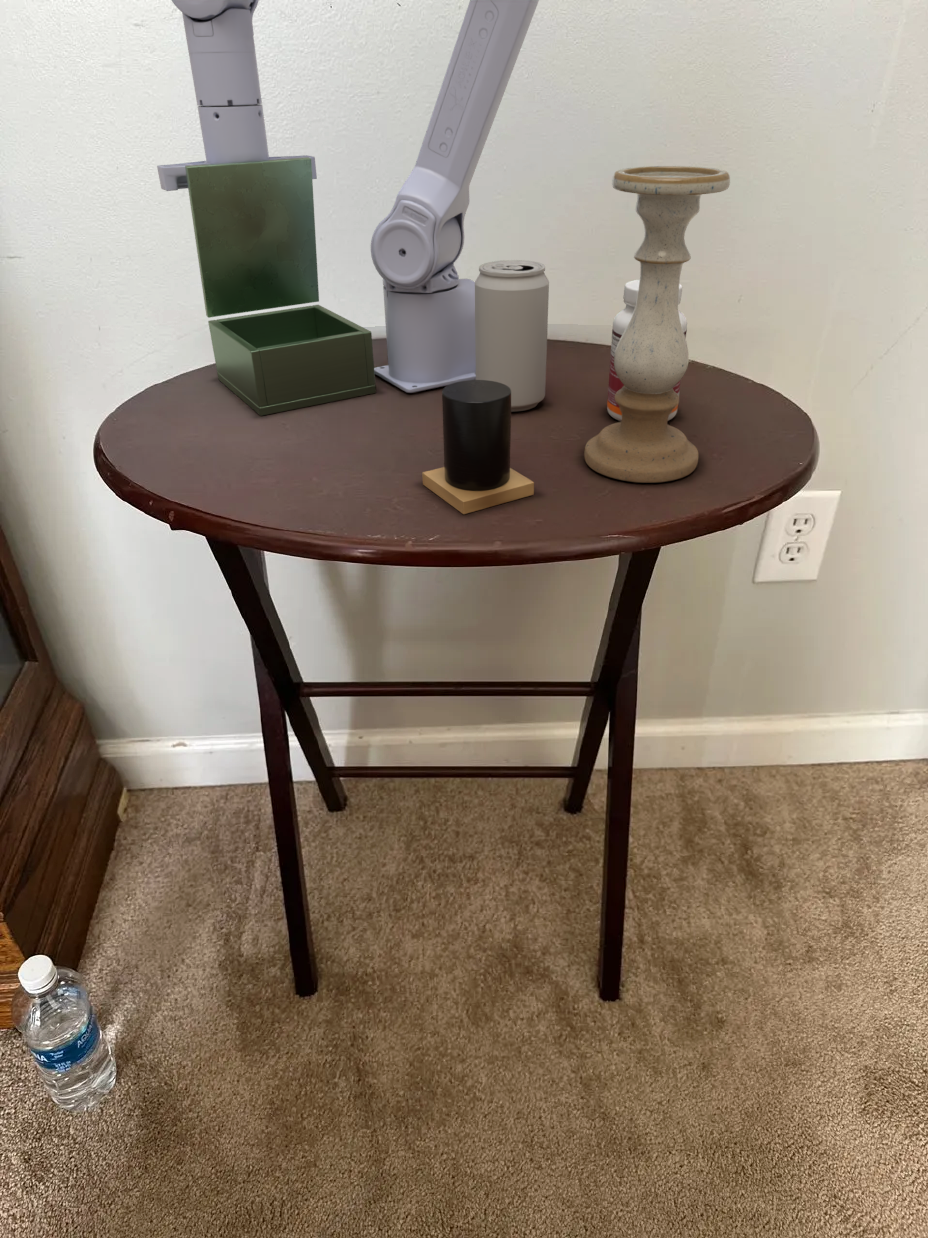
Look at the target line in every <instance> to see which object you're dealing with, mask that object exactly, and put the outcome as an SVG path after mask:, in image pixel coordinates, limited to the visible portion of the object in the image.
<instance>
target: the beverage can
mask: <svg viewBox="0 0 928 1238" xmlns="http://www.w3.org/2000/svg"><path fill="white" fill-rule="evenodd" d="M545 271H546V264H544V263H541V262H538V261H533V260H525V259H503V260H495V261H488V262H484V263H481V264H480V265H479V266H478V272H479V274H478V276H477V277H476V279H475V281H474V282H475V355H476V380H488V381H494V382H499V383H502V384H505V385H507V386H508V387H509V388H510V389H511V413H513V412H523V411H528V410H531V409H534V408H535V407H536V406H538V404H539V403H540V402H542V401H543V400H544V398H545V396H546V380H547V355H548V354H547V353H548V351H547V349H548V328H549V327H548V325H549V323H548V322H549V298H550V297H549V296H550V295H549V294H550V281H549V278H548V277H547V275H546V274H545Z"/></svg>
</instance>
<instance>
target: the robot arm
mask: <svg viewBox="0 0 928 1238" xmlns="http://www.w3.org/2000/svg"><path fill="white" fill-rule="evenodd" d="M259 1H260V0H171V2H172V4H173V5H174V7H176V9H177V10H179V11H180V12H181V15H182V20H183V26H184V32H185V38H186V45H187V50H188V52H187V53H188V56H189V63H190V69H191V76H192V81H193V88H194V93H195V99H196V106H197V112H198V117H199V124H200V125H199V126H200V130H201V136H202V142H203V150H204V154H205V160H199V161H191V162H182V163H172V164H171V163H170V164H159V165H156V168H157V173H158V179H159V184H160V189H161V190H163V191H166V192H173V191H178V190H183V189H188V184H187V177H186V170H185V166H189V165H204V164H219V163H233V162H248V161H262V160H277V159H292V158H306V157H309V158H311V163H312V180H317V179H318V176H317V166H316V157H315V156H312V155H307V154H305V155H303V154H302V155H286V156H285V155H284V156H270V155H269V147H268V146H269V145H268V139H267V130H266V122H265V115H264V106H263V102H262V101H263V100H262V92H261V85H260V78H259V69H258V68H259V67H258V62H257V53H256V46H255V37H254V35H255V34H254V25H253V18H254V17H253V16H254V13H255V11H256V9H257V7H258V4H259ZM539 1H540V0H469V2H468V4H467V5H468V6H467V8H466V12H465V14H464V16H463V20H462V23H461V26H460V30H459V32H458V35H457V38H456V41H455V44H454V47H453V51H452V53H451V56H450V59H449V63H448V65H447V68H446V71H445V74H444V78H443V80H442V83H441V86H440V89H439V92H438V95H437V98H436V101H435V105H434V107H433V111H432V114H431V115H430V119H429V121H428V125H427V128H426V131H425V134H424V137H423V140H422V143H421V146H420V149H419V152H418V155H417V157H416V158H417V159H416V161H415V164H414V167H413V168H412V170H411V171H410V173H409V175H408V177H407V178H406V179H405V181H404V182H403V184H402V186H401V188H400V189H399V191H398V192H397V195H396V197H395V201H394V203H393V205H392V208H391V210H390V212H389V213H388V214H387V215H386V216H385V217H384V218H383V219H382V220H381V221H380V222H379V223H378V224H377V226H376V227H375V229H374V231H373V233H372V236H371V240H370V255H371V256H370V257H371V260H372V263H373V265H374V268H375V270H376V271H377V273H378V275H380V277H381V278H382V290H383V292H382V293H383V306H384V307H383V308H384V318H385V319H384V322H385V324H384V325H385V338H386V353H387V365H382V366H377V367H374V374H375V375H376V376H378V377H380V378H381V379H383V380H385V381H386V382H388V383H390V384H391V385H393V386H395V387H397V388H398V389H400V390H401V391H403V392H405V393H407V394H412V393H418V392H423V391H426V390H431V389H436V388H442V387H446V386H448V385H450V384H453V383H456V382H461V381H468V380H476V355H475V281H474V280H473V279H470V278H460V275H459V274H458V271H457V269H456V266H455V265H454V264H455V263H456V262H457V260H458V259H459V257H460V256H461V254H462V251H463V249H464V245H465V228H464V227H465V225H464V224H465V223H464V222H465V217H466V213H467V210H468V208H469V206H470V185H471V182H472V179H473V177H474V174H475V171H476V169H477V166H478V163H479V161H480V158H481V157H482V156H481V155H482V153H483V150H484V148H485V146H486V145H485V144H486V142H487V140H488V137H489V134H490V131H491V128H492V126H493V125H494V121H495V118H496V116H497V113H498V110H499V107H500V105H501V102H502V99H503V97H504V94H505V92H506V90H507V86H508V84H509V81H510V78H511V76H512V73H513V70H514V68H515V65H516V62H517V60H518V57H519V54H520V53H521V49H522V47H523V45H524V42H525V38H526V36H527V33H528V31H529V27H530V26H531V23H532V20H533V17H534V15H535V12H536V9H537V7H538V4H539Z"/></svg>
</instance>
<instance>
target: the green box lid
mask: <svg viewBox="0 0 928 1238" xmlns="http://www.w3.org/2000/svg"><path fill="white" fill-rule="evenodd" d="M185 170H186V177H187V184H188V188H187V189H188V190H187V191H188V196H189V204H190V205H189V206H190V211H191V217H192V223H193V224H192V227H193V233H194V240H195V246H196V253H197V260H198V266H199V267H198V268H199V275H200V280H201V282H200V283H201V289H202V295H203V301H204V308H205V316H206V317H207V318H208V319H209V318H216V317H223V316H229V315H236V314H243V313H249V312H257V311H263V310H270V309H279V308H285V307H290V306H298V305H305V304H311V303H317V302H320V293H319V273H318V272H319V271H318V257H317V240H316V239H317V238H316V220H315V202H314V201H315V199H314V184H313V183H314V182H313V179H312V163H311V158H309V157H306V158H292V159H277V160H262V161H248V162H233V163H219V164H204V165H189V166H185Z"/></svg>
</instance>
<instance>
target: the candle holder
mask: <svg viewBox="0 0 928 1238" xmlns="http://www.w3.org/2000/svg"><path fill="white" fill-rule="evenodd" d="M730 184H731V175H730V173H729V172H728V171H727V170H725V169H720V168H715V167H705V166H704V167H703V166H691V165H688V166H687V165H648V166H647V165H646V166H634V167H633V166H632V167H626V168H620V169H618V170H616V171H615V172H614V174H613V176H612V178H611V186H612V188H613V189H614V190H616V191H619V192H623V193H629V194H635V195H636V204H635V212H636V214H637V216H638V217H640V219H641V221H642V224H643V228H644V237H643V239H642V242H641V244H640V245H639V246H638V248H637V249H636V251H635V252H634V254H633V258H634V260H635V261H637V262H639V265H640V268H639V270H640V272H639V280H640V282H639V290H638V296H637V302H636V306H635V309H634V312H633V315H632V317H631V320H630V322H629V324H628V326H627V327H626V329H625V331H624V333H623V335H622V336H621V338H620V341H619V343H618V345H617V348H616V350H615V355H614V369H615V371H616V374H617V376H618V378H619V379H620V381H621V382H622V383H623V384H624V386H623V387H622V388H621V389H620V390H618V391H617V393H616V394H615V401H616V403H617V404H618V405H619V406H620V407H619V408H620V411H621V412H622V421H618V422H615V423H611V424H609V425H607V426H605V427H603V428H602V429H601V430H600V432H599V433H598V434H596V435H594V436H593V437H591V438H590V439H589V440H588V441H586V444H585V446H584V450H583V451H584V453H583V456H584V461H585V463H586V465H587V466H588V467H589V468H590V469H592V470H593V471H594V472H595V473H598V474H600V475H603V476H605V477H607V478H611V479H615V480H619V481H625V482H631V483H643V484H644V483H646V484H647V483H650V484H654V483H665V482H672V481H675V480H680V479H683V478H685V477H687V476H689V475H690V474H692V473H693V472H694V471H695V470H696V468H697V466H698V462H699V458H700V457H699V450H698V448H697V447H696V446H695V445H694V443H692V442H690V441H689V440H688V438H687V436H686V434H685V433H683V432H682V431H681V430H680V429H679V428H676V427H674V426H672V425H669V424H668V422H669V420H668V417H669V415H670V414H671V412H672V409H674V408H675V407H676V406H677V405H678V406H679V403H680V395H679V396H678V394H677V393H676V392H674V390H673V387H674V386H675V385H676V384H677V383H678V382H679V381H680V380H681V381H682V379H683V377H684V376H685V374H686V372H687V370H688V367H689V363H690V354H689V347H688V342H687V339H685V335H684V332H683V329H682V326H681V323H680V318H679V312H678V310H679V305H678V295H679V284H680V281H681V273H682V270H683V269H682V268H683V264H684V263H687V262H689V261H690V260H691V258H692V257H691V253H690V251H689V249H688V247H687V243H686V241H685V237H686V235H685V234H686V231H687V227H688V226H689V224H690V222H691V221H692V220H693V219H694V218H695V217H696V216H697V215H698V213H699V212H700V208H701V207H700V206H701V196H702V195H710V194H717V193H722V192H724V191H726V190H728V189H729V187H730Z"/></svg>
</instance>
